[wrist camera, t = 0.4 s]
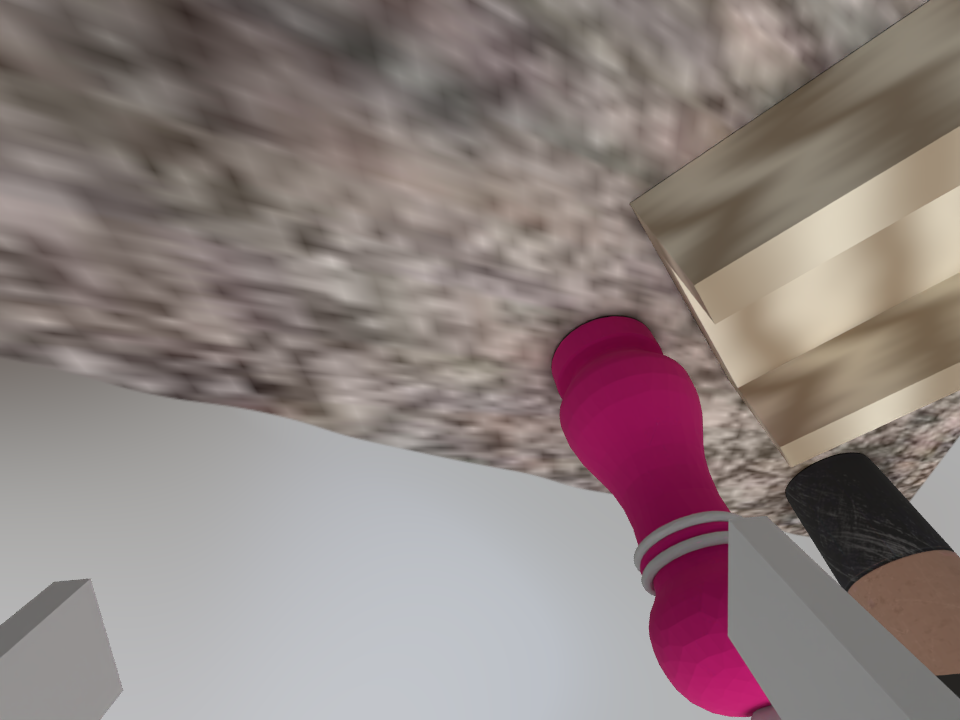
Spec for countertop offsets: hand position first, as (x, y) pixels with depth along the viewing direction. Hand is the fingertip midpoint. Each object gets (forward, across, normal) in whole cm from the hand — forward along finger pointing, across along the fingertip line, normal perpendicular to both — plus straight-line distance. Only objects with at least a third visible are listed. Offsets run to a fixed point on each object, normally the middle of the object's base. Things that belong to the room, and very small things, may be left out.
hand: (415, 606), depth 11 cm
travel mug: (+32, +30, -15) cm, 46 cm away
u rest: (+19, +21, +7) cm, 29 cm away
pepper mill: (+22, +9, 0) cm, 23 cm away
